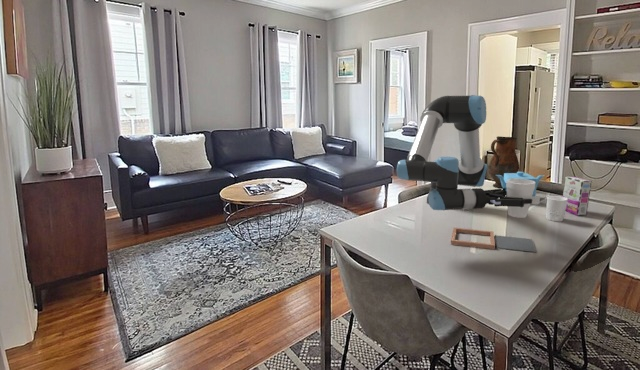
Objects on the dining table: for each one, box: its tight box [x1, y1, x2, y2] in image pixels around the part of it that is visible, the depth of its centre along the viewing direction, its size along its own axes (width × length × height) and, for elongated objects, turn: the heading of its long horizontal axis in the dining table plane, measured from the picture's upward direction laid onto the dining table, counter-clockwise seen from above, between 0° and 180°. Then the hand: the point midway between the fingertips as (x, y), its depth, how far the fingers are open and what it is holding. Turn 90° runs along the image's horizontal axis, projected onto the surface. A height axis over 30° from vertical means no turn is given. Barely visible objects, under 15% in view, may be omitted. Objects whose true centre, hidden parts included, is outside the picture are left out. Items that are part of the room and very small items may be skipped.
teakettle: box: [496, 171, 546, 197], centre depth 205 cm, size 19×19×15 cm
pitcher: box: [487, 136, 520, 189], centre depth 229 cm, size 17×21×30 cm
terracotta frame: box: [450, 227, 496, 250], centre depth 153 cm, size 15×15×2 cm
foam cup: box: [506, 178, 536, 219], centre depth 143 cm, size 10×9×13 cm
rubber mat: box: [494, 234, 537, 254], centre depth 147 cm, size 13×13×1 cm
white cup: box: [545, 195, 568, 222], centre depth 172 cm, size 8×8×10 cm
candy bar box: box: [562, 175, 592, 217], centre depth 180 cm, size 11×5×16 cm, turn 5°
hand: (530, 196), depth 143 cm, fingers closed on foam cup, 9 cm apart
